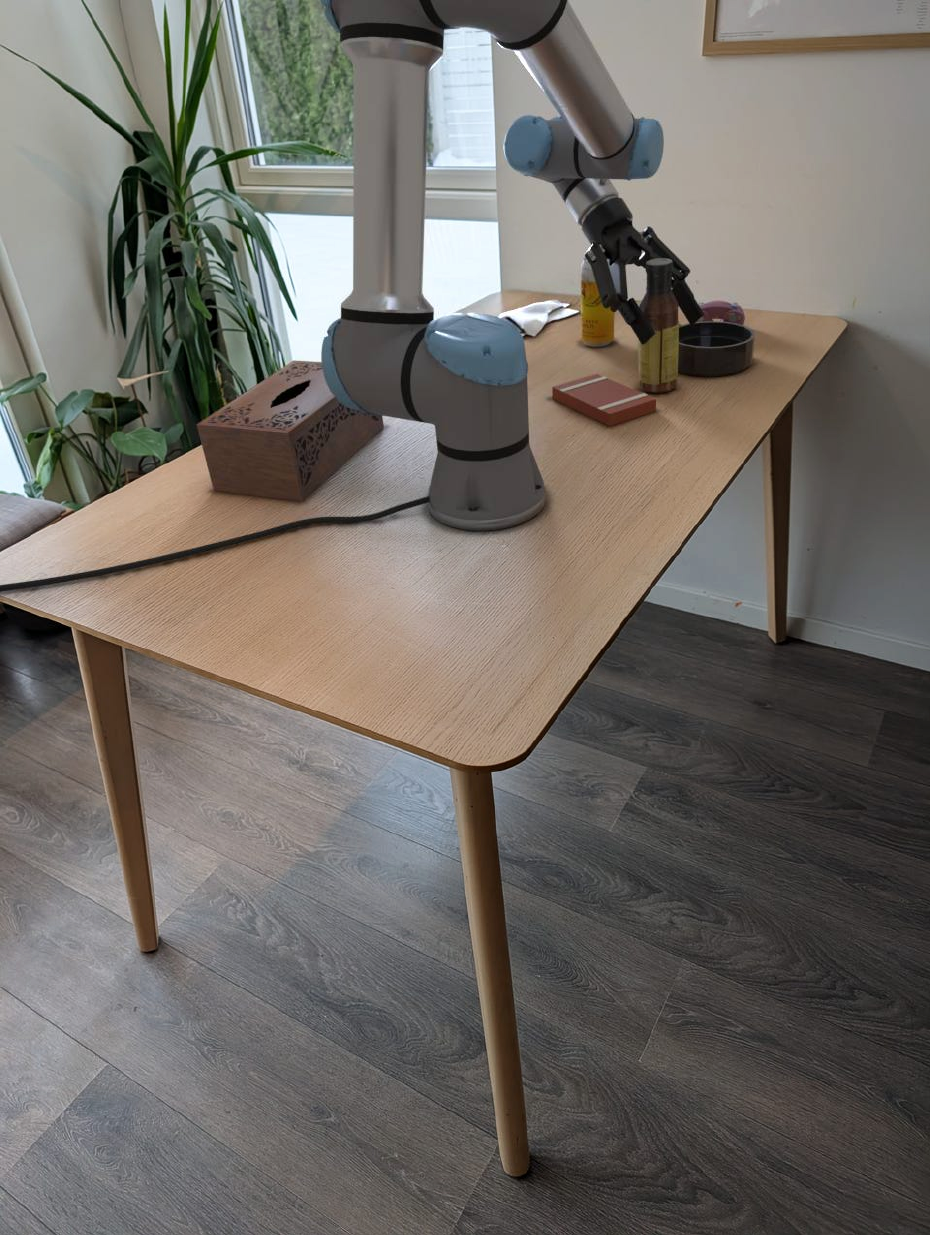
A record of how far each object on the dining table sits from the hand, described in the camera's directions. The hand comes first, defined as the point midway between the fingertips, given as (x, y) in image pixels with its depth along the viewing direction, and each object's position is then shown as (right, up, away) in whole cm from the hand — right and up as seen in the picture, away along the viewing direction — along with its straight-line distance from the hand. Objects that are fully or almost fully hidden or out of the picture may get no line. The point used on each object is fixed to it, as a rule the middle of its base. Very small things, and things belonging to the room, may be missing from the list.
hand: (673, 329), depth 138 cm
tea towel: (-11, -11, +3) cm, 15 cm away
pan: (+9, -1, +15) cm, 18 cm away
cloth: (-19, +15, +43) cm, 49 cm away
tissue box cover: (-57, -21, -4) cm, 60 cm away
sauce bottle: (-1, -7, +8) cm, 11 cm away
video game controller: (+15, +9, +29) cm, 33 cm away
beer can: (-8, +7, +29) cm, 30 cm away
